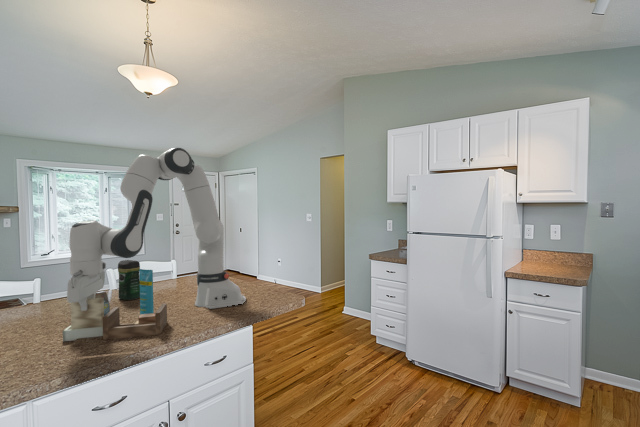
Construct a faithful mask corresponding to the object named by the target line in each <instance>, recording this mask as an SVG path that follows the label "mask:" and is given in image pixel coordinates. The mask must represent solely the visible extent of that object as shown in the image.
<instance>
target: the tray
mask: <svg viewBox="0 0 640 427" xmlns="http://www.w3.org/2000/svg"><path fill="white" fill-rule="evenodd" d="M95 337H103V327H93V328H82V329H71V324H70V325H69V326H67V327H66V328H64V330H62V342H70V341H76V340H77V339H85V338H86V339H87V338H95Z"/></svg>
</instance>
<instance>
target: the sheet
mask: <svg viewBox="0 0 640 427" xmlns="http://www.w3.org/2000/svg"><path fill="white" fill-rule="evenodd" d="M87 304H89V306H88V307H89V308H88V309H87V310H86V311H81V306H80V304H79V302H75V303H70V325H71V329H82V328H93V327H103V318H102V317H103V316H104V298H91V299H87Z"/></svg>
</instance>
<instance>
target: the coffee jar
mask: <svg viewBox="0 0 640 427" xmlns="http://www.w3.org/2000/svg"><path fill="white" fill-rule="evenodd" d="M139 269H141V265H140V261H138V260H132V259H125V260H120V261H119V262H118V264H117V272H118V299H119V300H123V301H131V300H134V301H135V300H137V299H140V271H139Z"/></svg>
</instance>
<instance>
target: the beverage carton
mask: <svg viewBox="0 0 640 427" xmlns="http://www.w3.org/2000/svg"><path fill="white" fill-rule="evenodd" d="M95 298H104V316H105V315H106V314H107V313H108V312H109V311H111V309H110V301H109V297H108V293H107V291H103V292H96V295H95ZM87 299H88V297H87Z"/></svg>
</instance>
